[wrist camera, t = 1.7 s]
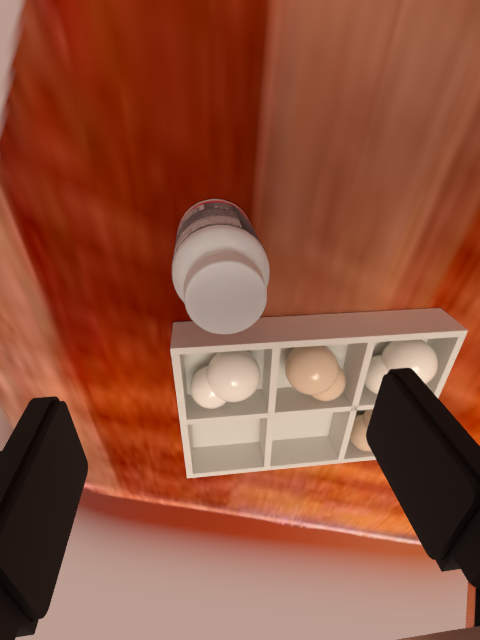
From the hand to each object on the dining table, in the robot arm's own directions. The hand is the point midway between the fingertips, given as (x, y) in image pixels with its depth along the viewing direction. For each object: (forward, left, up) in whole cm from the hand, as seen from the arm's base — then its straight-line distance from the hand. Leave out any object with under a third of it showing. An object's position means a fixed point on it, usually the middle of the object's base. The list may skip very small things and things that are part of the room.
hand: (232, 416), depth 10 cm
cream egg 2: (-16, +11, -16) cm, 25 cm away
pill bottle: (0, 0, -17) cm, 17 cm away
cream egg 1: (-1, +11, -16) cm, 19 cm away
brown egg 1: (-8, +11, -16) cm, 21 cm away
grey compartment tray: (-8, +15, -17) cm, 24 cm away
